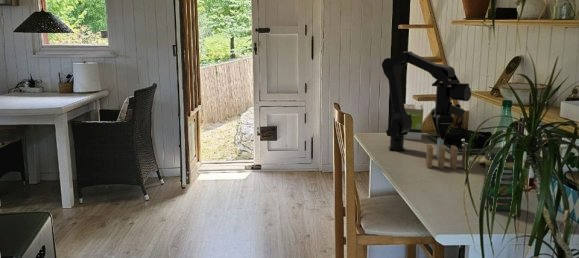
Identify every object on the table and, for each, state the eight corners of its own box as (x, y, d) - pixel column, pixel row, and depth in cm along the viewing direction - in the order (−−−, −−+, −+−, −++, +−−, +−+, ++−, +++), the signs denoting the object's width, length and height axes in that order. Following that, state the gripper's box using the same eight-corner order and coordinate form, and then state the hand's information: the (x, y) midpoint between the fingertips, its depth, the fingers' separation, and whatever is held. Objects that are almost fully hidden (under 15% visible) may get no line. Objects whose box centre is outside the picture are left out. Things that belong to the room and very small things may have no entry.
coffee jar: (483, 210, 161) (488, 149, 157) (477, 202, 169) (482, 143, 165) (517, 212, 160) (523, 151, 156) (510, 203, 168) (515, 144, 164)
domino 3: (437, 165, 211) (438, 145, 209) (441, 165, 211) (443, 145, 209) (439, 168, 206) (441, 148, 204) (444, 168, 206) (445, 148, 204)
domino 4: (449, 165, 210) (451, 145, 209) (453, 165, 210) (455, 145, 208) (451, 169, 205) (453, 148, 204) (456, 169, 205) (457, 148, 204)
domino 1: (425, 164, 211) (426, 144, 210) (429, 164, 211) (431, 144, 209) (427, 168, 206) (428, 147, 205) (431, 168, 206) (433, 147, 204)
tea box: (421, 140, 253) (423, 108, 250) (399, 139, 255) (401, 107, 252) (420, 133, 268) (422, 103, 265) (400, 132, 270) (401, 103, 267)
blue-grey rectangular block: (436, 156, 223) (437, 137, 222) (440, 157, 223) (441, 137, 221) (438, 160, 218) (439, 140, 217) (442, 160, 218) (443, 140, 217)
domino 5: (461, 166, 210) (463, 145, 208) (465, 166, 210) (467, 145, 208) (464, 169, 205) (465, 148, 203) (468, 169, 205) (470, 149, 203)
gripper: (469, 102, 206) (465, 142, 209) (459, 95, 224) (456, 132, 227) (439, 101, 207) (436, 141, 210) (431, 94, 225) (429, 131, 228)
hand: (440, 136), depth 219 cm, fingers open, 9 cm apart
